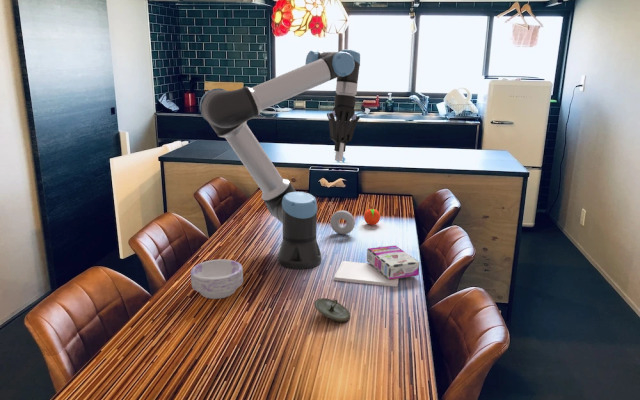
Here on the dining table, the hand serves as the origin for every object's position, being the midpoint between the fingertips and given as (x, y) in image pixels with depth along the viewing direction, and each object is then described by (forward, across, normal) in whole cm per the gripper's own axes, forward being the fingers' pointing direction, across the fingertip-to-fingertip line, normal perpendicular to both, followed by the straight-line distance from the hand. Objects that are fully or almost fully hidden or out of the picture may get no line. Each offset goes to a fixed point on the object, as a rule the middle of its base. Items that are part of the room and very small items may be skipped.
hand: (338, 160), depth 185 cm
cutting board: (+35, +1, +27) cm, 44 cm away
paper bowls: (+41, +48, +17) cm, 65 cm away
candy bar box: (+29, -8, +21) cm, 37 cm away
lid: (+39, +25, +45) cm, 65 cm away
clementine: (+28, -30, -15) cm, 43 cm away
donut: (+31, -12, -10) cm, 34 cm away
